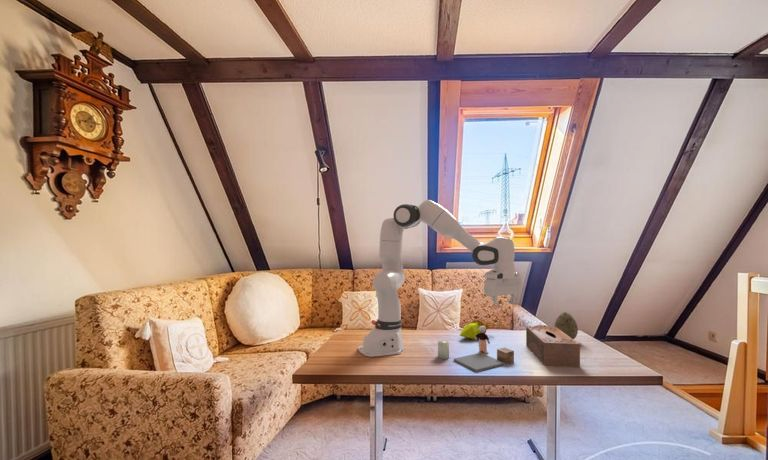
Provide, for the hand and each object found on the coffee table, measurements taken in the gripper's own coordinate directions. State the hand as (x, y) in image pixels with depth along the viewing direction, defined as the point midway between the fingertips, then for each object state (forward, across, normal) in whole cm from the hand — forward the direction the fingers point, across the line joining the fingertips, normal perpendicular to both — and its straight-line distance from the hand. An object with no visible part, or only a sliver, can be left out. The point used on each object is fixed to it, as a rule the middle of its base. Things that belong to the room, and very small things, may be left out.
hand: (503, 304), depth 153 cm
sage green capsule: (+25, +20, -16) cm, 36 cm away
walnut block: (+25, 0, +1) cm, 25 cm away
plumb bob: (+25, -13, -32) cm, 43 cm away
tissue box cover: (+25, -24, +6) cm, 36 cm away
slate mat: (+25, +12, -3) cm, 28 cm away
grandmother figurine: (+25, 0, -12) cm, 28 cm away
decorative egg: (+25, -50, -4) cm, 56 cm away
